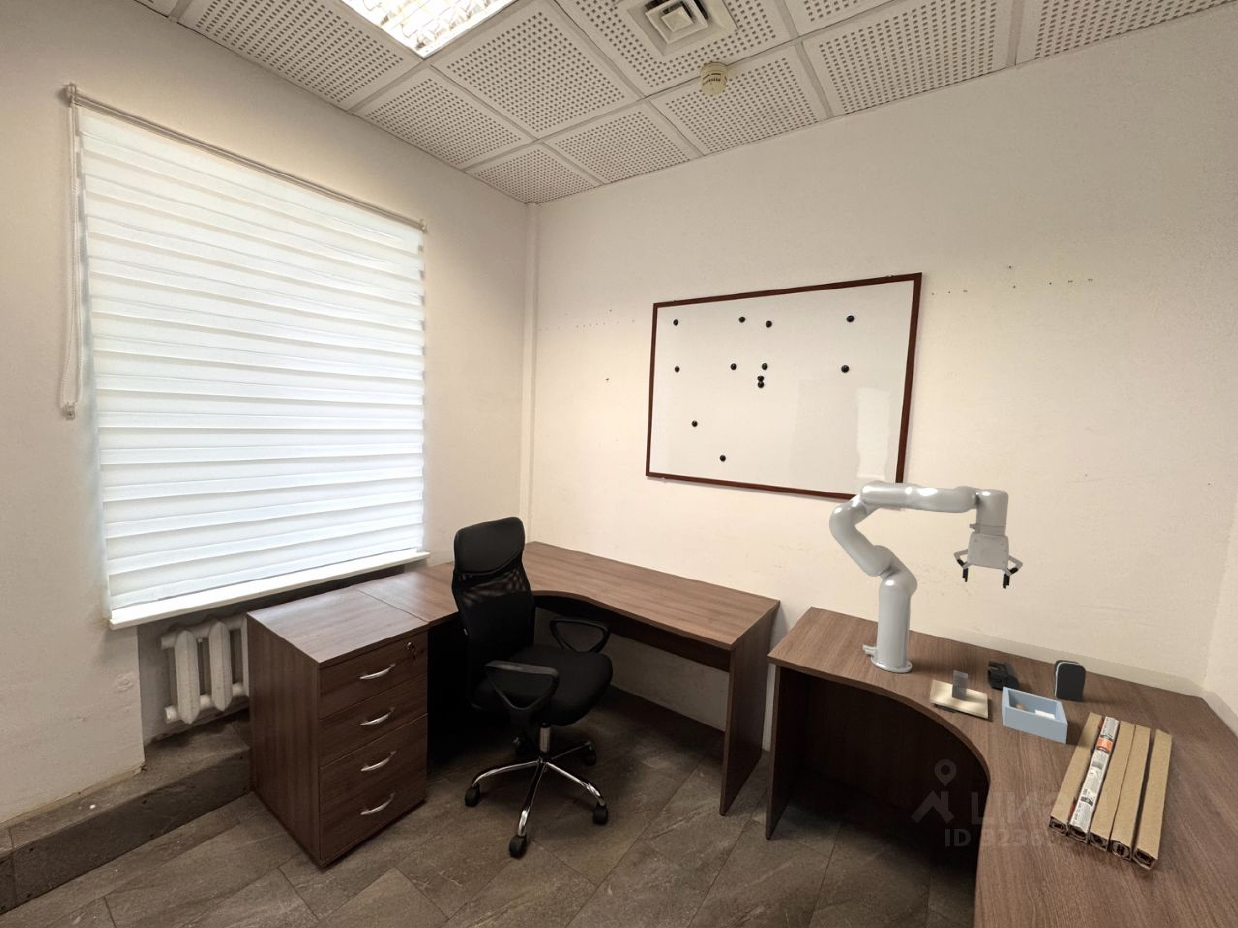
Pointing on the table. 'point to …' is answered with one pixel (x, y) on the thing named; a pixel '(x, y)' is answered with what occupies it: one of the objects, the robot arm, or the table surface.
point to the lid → (959, 696)
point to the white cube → (1044, 714)
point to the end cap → (1002, 676)
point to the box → (1034, 715)
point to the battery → (1069, 680)
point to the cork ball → (1020, 707)
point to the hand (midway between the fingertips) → (984, 584)
